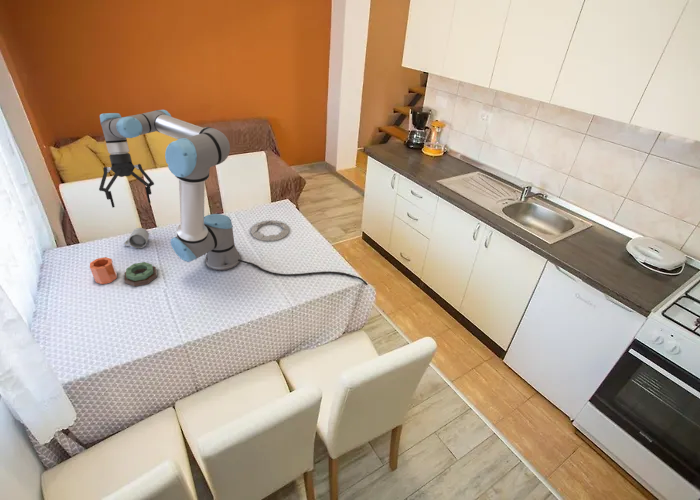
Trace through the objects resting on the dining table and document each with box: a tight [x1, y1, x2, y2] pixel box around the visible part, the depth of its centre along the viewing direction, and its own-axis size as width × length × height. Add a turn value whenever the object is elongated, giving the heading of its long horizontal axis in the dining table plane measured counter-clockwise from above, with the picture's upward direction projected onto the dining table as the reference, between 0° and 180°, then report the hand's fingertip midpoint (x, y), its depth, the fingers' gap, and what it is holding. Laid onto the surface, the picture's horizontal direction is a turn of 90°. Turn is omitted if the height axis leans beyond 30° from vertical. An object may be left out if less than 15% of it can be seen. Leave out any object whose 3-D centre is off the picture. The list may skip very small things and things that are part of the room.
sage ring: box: [125, 261, 154, 281], centre depth 161 cm, size 10×10×2 cm
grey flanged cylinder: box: [124, 227, 150, 249], centre depth 180 cm, size 11×8×8 cm
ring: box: [250, 220, 290, 242], centre depth 199 cm, size 19×19×2 cm
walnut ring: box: [123, 265, 158, 287], centre depth 162 cm, size 12×12×2 cm
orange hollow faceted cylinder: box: [89, 256, 118, 285], centre depth 158 cm, size 8×8×8 cm
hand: (131, 204), depth 161 cm, fingers open, 13 cm apart
